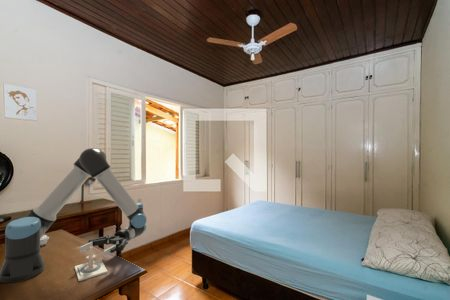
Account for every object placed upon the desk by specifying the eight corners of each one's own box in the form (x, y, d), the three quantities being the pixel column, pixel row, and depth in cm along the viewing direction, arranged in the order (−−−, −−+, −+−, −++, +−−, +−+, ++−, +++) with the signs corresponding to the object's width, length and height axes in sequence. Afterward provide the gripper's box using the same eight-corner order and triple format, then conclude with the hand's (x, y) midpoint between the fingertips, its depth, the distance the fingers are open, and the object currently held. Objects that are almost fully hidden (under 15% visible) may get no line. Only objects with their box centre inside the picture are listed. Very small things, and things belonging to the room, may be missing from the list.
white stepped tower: (99, 268, 104) (99, 245, 104) (86, 272, 100) (87, 248, 100) (94, 264, 107) (95, 242, 107) (82, 268, 103) (82, 245, 103)
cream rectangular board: (74, 267, 105) (74, 265, 105) (100, 260, 112) (100, 259, 112) (78, 281, 95) (78, 279, 95) (107, 272, 102) (107, 270, 102)
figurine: (33, 248, 125) (34, 221, 125) (29, 244, 131) (30, 218, 131) (49, 244, 130) (50, 218, 130) (45, 240, 136) (46, 215, 136)
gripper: (143, 245, 120) (114, 264, 100) (105, 239, 127) (70, 256, 107) (144, 231, 121) (114, 247, 100) (105, 226, 127) (71, 240, 107)
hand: (91, 252), depth 103 cm, fingers open, 13 cm apart
